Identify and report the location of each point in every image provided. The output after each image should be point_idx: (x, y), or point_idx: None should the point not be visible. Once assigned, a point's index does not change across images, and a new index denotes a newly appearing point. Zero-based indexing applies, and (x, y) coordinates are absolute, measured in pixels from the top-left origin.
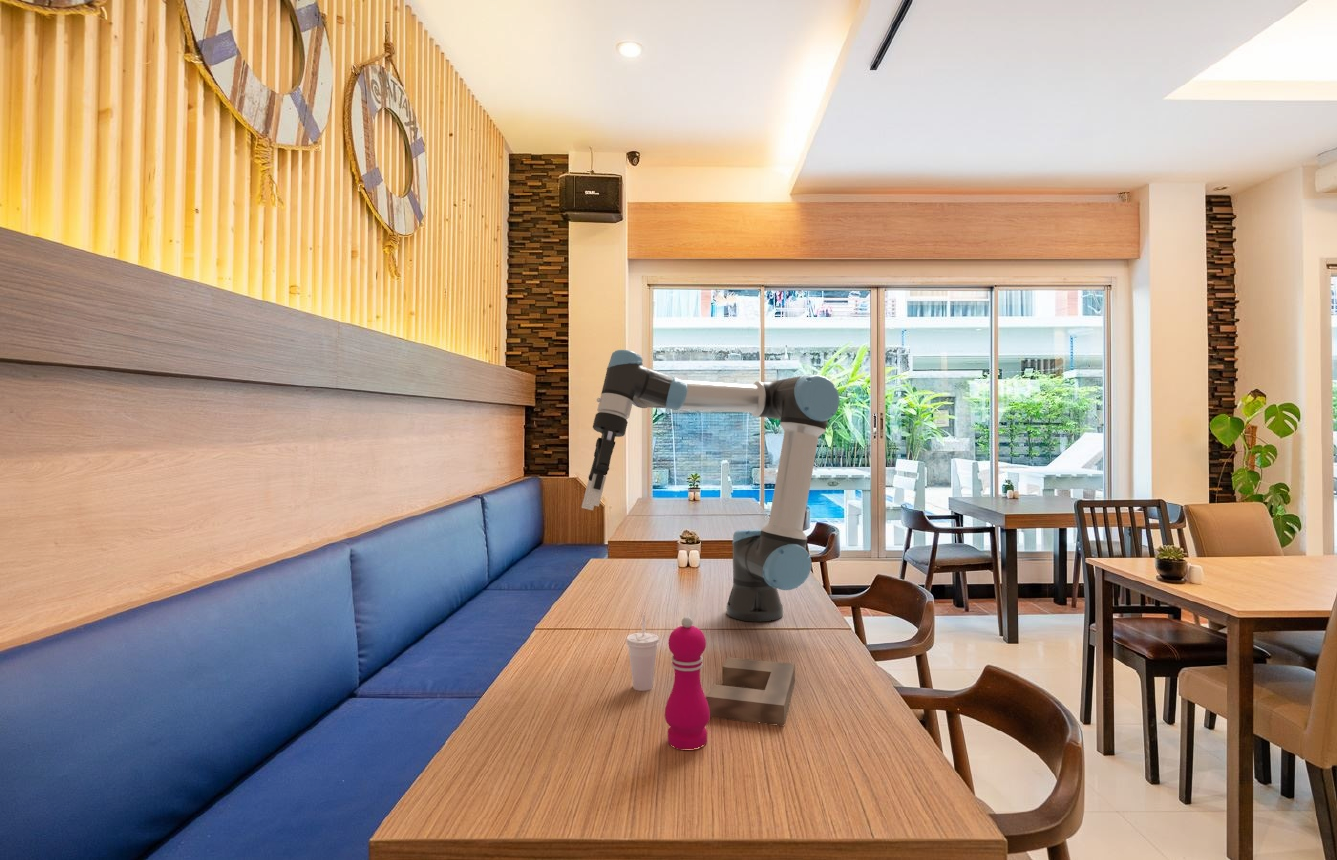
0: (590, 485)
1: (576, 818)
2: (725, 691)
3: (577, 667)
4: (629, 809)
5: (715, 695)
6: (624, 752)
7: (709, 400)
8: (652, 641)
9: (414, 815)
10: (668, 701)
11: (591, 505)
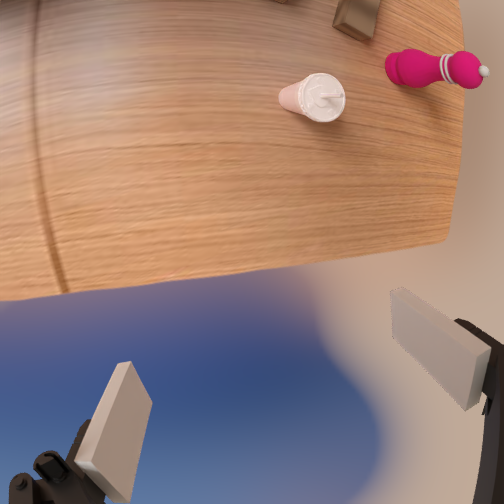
0: (123, 472)
1: (452, 151)
2: (361, 15)
3: (222, 196)
4: (450, 121)
5: (370, 28)
6: (407, 120)
7: None
8: (340, 84)
9: (437, 237)
10: (425, 85)
11: (131, 382)
